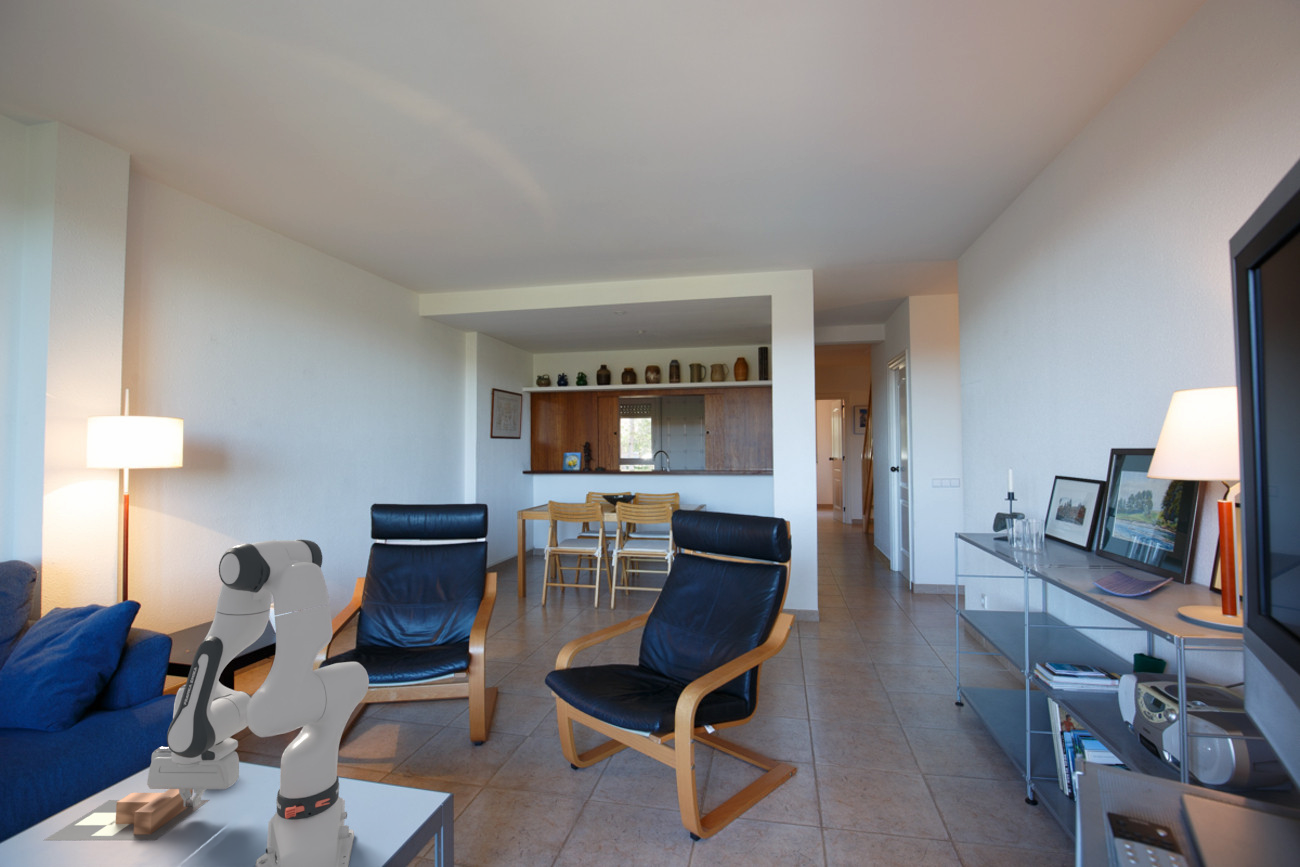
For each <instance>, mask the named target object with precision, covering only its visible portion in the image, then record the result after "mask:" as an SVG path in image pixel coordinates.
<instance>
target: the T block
mask: <svg viewBox="0 0 1300 867" xmlns="http://www.w3.org/2000/svg"><path fill="white" fill-rule="evenodd" d="M190 792H191V794H192V795H193V793H194V789H190ZM118 800H119V801H118V802H117V804H116V823H115V824H134V833H133V834H152V833H153V832H155V831H156V830H157V829H159V828H160V827H161V826H163V825H164V824H166V823H167V822H168V821H170V820H171V819H173V818H174V817H175V816H177V815H178V814H179V813H181V812H182V811H184V810H185V809H186V808H188V807H184V806H183V804H184V800H183V799H182V797H181V796H180V794H179V789H166V791H165V792H130V793H129V794H128V795H126V796H124V797H123V798H121V799H118Z"/></svg>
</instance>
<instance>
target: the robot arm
mask: <svg viewBox="0 0 1300 867" xmlns="http://www.w3.org/2000/svg"><path fill="white" fill-rule="evenodd" d="M322 564H323V553H322V550H321V547H320V546H319V545H318V544H317V543H316V542H315V541H313V540H307V539H295V540H294V539H293V540H292V539H291V540H290V539H289V540H288V539H287V540H281V539H280V540H276V539H273V540H263V541H258V542H252V543H242V544H239V545H238V544H237V545H235V546H232V547H230V548H228V549H227V550H226V551H225V552H224V553H223V554H222V556H221V559H220V561H219V564H218V574H219V579H220V581H221V582H222V585H221V587H220V591H219V595H218V598H217V603H216V608H215V614H214V617H213V621H212V623H211V625H210V628H209V630H208V633H207V634H206V636H205V638H204V640H203V641H202V642H201V643H200V645H199V646H198V648H197V650H196V652H195V654H194V656H193V660H192V662H191V663H192V664H191V666H190V670H189V673H188V676H187V679H186V682H185V684H183V685H182V686H181V687H179V689H178V690H177V692H176V696H175V699H174V704H173V715H172V721H170V725H169V727H168V731H167V733H166V742H167V743H166V744H167V746H160V747H158V748H157V749H154V750H153V752H152V754H151V758H150V759H151V760H150V761H151V763H150V765H149V769H148V775H147V780H146V781H147V782H146V785H147V787H148V788H149V789H150V790H169V789H179V794H180V796H181V797H182V799H183V800H184V804H183V806H184V807H197V806H198V805H199V804H200V803H201V800H202V796H203V795H204V793H205V792H206V790H226V789H229V788H230V787H231V786H233V785H234V784H235V783H236V782H237V781H238V779H239V777H240V759H239V754H238V753H237V751H236V749H237V748H238V747H239V741H238V740H236V739H234V738H232V736H234V735H236V734H238V733H239V732H241V731H243V730H245V729H247V727H248V729H249V730H250V731H251V733H252V734H254V735H255V736H257V737H259V738H267V737H274V736H277V735H278V736H279V735H284V734H287V733H290V732H293V731H295V730H297V729H300V728H301V730H300V731H299V733H298V734H297V736H296V737H295V738H294V739H293V740H292V741H291V742H290V743H288V745H287V746H286V748H285V750H284V751H283V753H282V755H281V759H280V775H279V783H280V784H279V789H278V791H277V795H276V802H275V803H276V812H275V814H274V815H272V817H271V818H270V819H269V820H268V823H267V824H268V825H267V842H266V849H265V853H264V854H263V855H261V856H259V857H258V858H257V859H256V861H255V867H350V865H349V864H350V859H351V854H352V850H353V844H354V840H355V830H353V829H350V826H349V825H347V824H346V825H345V820H346V819H347V818H348V811H345V810H346V809H345V807H346V806H345V804H346V803H345V802H346V800H345V799H344V798H342V797H340V796H339V792H340V782H339V781H340V780H339V775H338V758H339V749H340V742H341V738H342V735H343V733H344V730H345V728H346V725H347V723H348V721H349V719H350V717H351V715H352V713H353V712H354V710H355V709H356V708H357V706H358V705H359V704H360V703H361V702H362V700H364V698H365V697H366V695H367V693H368V691H369V690H368V688H369V685H370V679H369V675H368V672H367V670H366V668H365V667H364V665H362V664H361V663H360V662H358V661H346V662H336V663H333V664H330V665H325V666H323V667H319V668H317V669H314V664H315V661H316V658H317V657H318V655H319V653H321V651H322V650H324V649H325V648H326V647H327V646H328V645H329V643H331V641H332V638H333V634H334V631H333V624H332V623H333V622H332V614H331V606H330V604H331V603H330V597H329V592H328V588H327V583H326V580H325V576H324V574H323V571H322V569H321V568H322ZM272 599H273V611H274V615H273V616H274V623H275V626H274V628H275V653H274V654H275V655H274V659H273V663H272V664H271V667H270V670H269V673H268V674H267V677H266V678H265V680H264V682H262V684H261V685H260V687H259V688H258V689H257V690H256V691H255V692H254V693H253V694H252V695H251V694H249V693H247V692H245V691H243V690H242V691H241V690H240V691H239V690H238V691H237V690H235V689H232V688H229V687H227V686H225V685H224V684H222V683H221V682H220V681H219V679H220V677H221V674H222V673H223V671H224V669H225V668H226V667H227V665H228V664H229V663H230V662H231V661H232V660H234V658H236V656H238V655H240V653H242V652H243V651H244V650H246V649H247V648H248V647H250V646H251V645H253V644H254V643H255V642H256V641H258V640H259V638H260V637H261V636H263V634H264V632H265V630H266V628H267V625H268V622H269V619H270V614H271V613H270V612H271V606H272ZM190 789H193V793H194V794H195V795H193V794H191V792H190Z"/></svg>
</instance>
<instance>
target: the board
mask: <svg viewBox="0 0 1300 867" xmlns="http://www.w3.org/2000/svg"><path fill="white" fill-rule="evenodd" d="M119 800H120V799H109V800H107V801H106V802H104V803H102V804H100V805H99V806H97V807H96V808H94V809H92V810H91V811H89V812H88V813H86V814H84V815H82V816H81V817H79V818H77V819H76V820H74V821H73V822H71V823H69V824H68V825H66V826H65V827H62V828H61V829H59V830H58V831H56V832H54V833H53V834H51V835H50V836H48V837H46V838H44V839H43V841H157V840H158V839H159V838H161V837H162V836H164V835H165V834H166V833H168V832H169V831H171V829H173V828H174V827H176V826H177V825H179V824H180V823H181V822H183V821H184V820H186V818H188V817H189V816H190V815H192V814H193V813H195V811H197V810H199V808H200V809H201V807H202V806H204V805H205V804H206V803H208V802H209V801H210V799H201V803H200V804H199V805H198V806H197V807H188V808H186V809H185V810H184V811H182V812H181V813H179V814H178V815H177V816H175V817H174V818H173V819H171V820H170V821H168V822H167V823H166V824H164V825H163V826H161V827H160V828H159V829H157V830H156V831H155V832H153V833H152V834H133V833H134V824H115V823H116V804H117V802H118V801H119Z"/></svg>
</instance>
